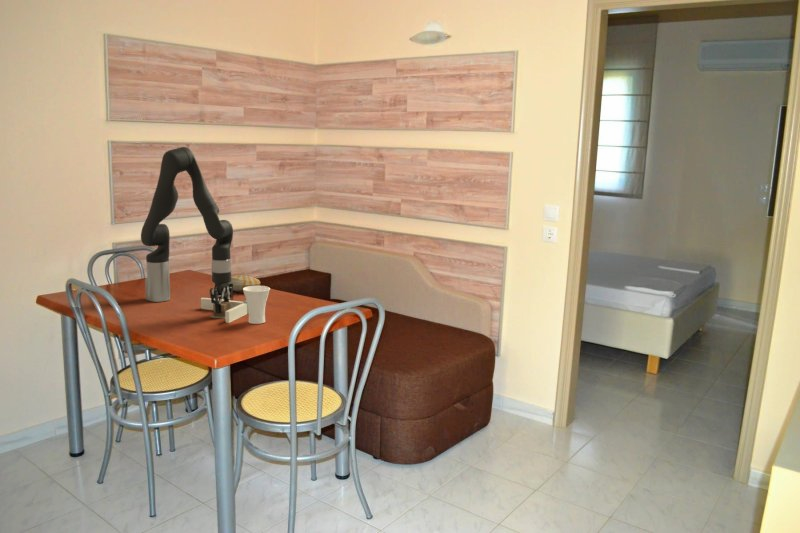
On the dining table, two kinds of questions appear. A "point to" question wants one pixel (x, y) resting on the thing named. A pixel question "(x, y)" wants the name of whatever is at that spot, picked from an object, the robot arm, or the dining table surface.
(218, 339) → the dining table surface
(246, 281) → the nautilus
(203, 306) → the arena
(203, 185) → the robot arm
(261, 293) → the cup
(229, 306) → the block
